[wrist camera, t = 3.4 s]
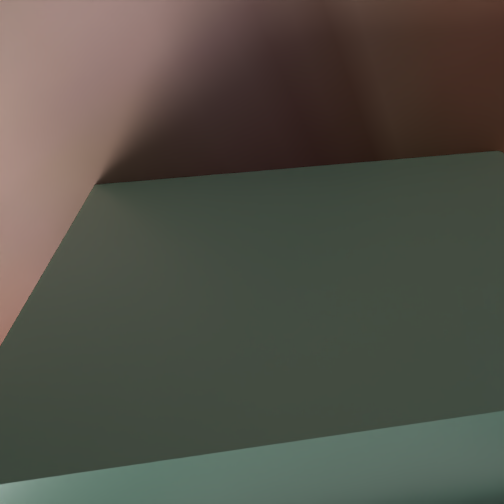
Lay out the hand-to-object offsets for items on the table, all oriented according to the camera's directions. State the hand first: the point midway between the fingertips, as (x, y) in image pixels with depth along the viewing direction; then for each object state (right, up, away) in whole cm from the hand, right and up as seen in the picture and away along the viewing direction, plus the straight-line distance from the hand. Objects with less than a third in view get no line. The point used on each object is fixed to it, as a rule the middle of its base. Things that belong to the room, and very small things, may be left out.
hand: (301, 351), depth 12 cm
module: (0, 0, 0) cm, 0 cm away
